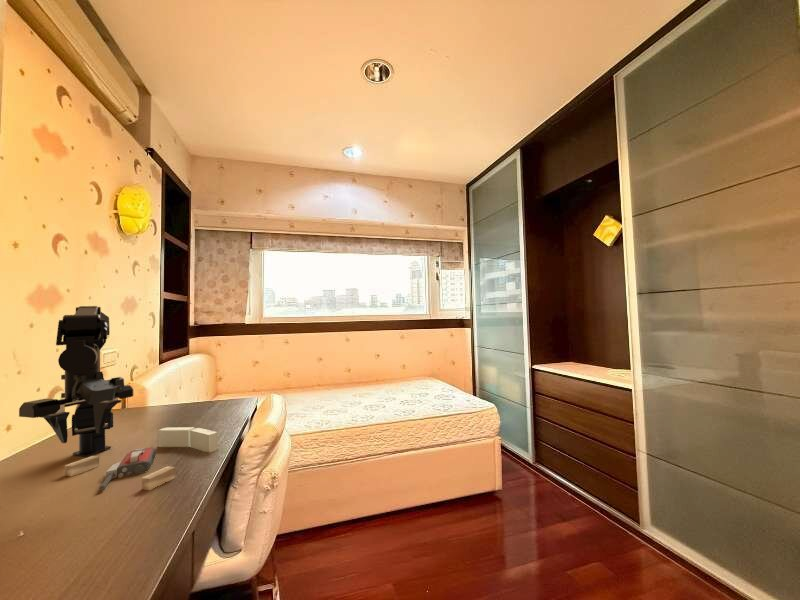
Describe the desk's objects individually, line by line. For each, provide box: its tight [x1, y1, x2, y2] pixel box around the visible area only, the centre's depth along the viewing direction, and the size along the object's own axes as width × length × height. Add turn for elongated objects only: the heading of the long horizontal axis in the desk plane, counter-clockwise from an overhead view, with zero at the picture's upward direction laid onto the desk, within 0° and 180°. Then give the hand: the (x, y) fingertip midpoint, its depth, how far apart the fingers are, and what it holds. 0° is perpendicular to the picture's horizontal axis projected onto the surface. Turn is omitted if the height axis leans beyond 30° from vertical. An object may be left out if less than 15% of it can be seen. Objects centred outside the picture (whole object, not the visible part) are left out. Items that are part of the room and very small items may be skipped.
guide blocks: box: [64, 455, 176, 491], centre depth 83 cm, size 30×6×2 cm, turn 71°
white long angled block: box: [158, 426, 219, 453], centre depth 102 cm, size 21×4×5 cm, turn 71°
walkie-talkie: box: [98, 447, 156, 490], centre depth 86 cm, size 9×4×20 cm
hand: (82, 437), depth 77 cm, fingers open, 6 cm apart
